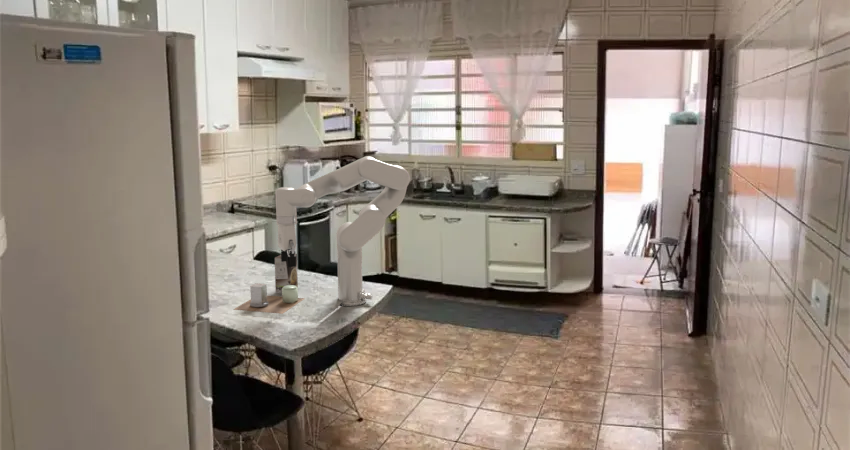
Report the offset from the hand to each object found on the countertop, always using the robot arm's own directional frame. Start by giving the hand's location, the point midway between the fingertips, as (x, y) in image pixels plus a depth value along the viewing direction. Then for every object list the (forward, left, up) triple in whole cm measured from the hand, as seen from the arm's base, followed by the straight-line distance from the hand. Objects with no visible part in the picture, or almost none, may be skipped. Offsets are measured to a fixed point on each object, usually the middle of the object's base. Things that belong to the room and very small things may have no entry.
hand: (288, 263), depth 265 cm
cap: (0, 0, -15) cm, 15 cm away
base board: (+6, +5, -16) cm, 18 cm away
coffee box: (+8, -14, -17) cm, 23 cm away
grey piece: (+9, +8, -15) cm, 19 cm away
